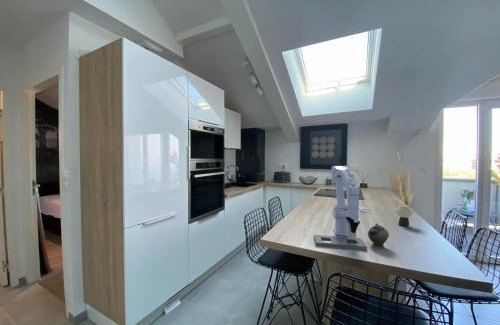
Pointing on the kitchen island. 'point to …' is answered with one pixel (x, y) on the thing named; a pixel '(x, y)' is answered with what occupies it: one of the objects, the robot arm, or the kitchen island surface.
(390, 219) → the kitchen island surface
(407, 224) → the character mug
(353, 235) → the plug block
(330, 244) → the grey mounting plate
